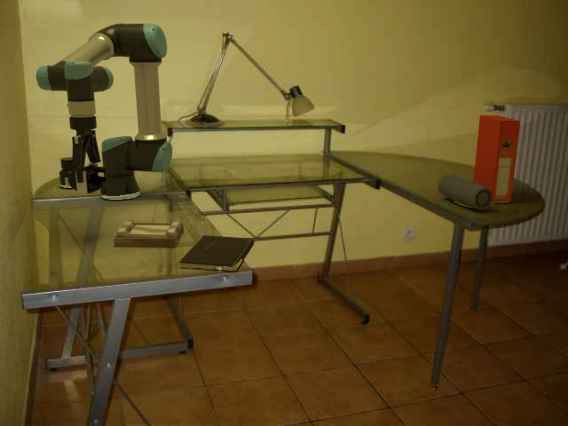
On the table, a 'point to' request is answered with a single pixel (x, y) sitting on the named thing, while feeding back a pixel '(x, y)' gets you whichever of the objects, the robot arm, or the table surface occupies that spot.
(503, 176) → the file binder
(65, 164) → the ink bottle
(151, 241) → the display riser
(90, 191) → the black notched block
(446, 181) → the bluetooth speaker
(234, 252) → the hardcover book
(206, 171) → the table surface
